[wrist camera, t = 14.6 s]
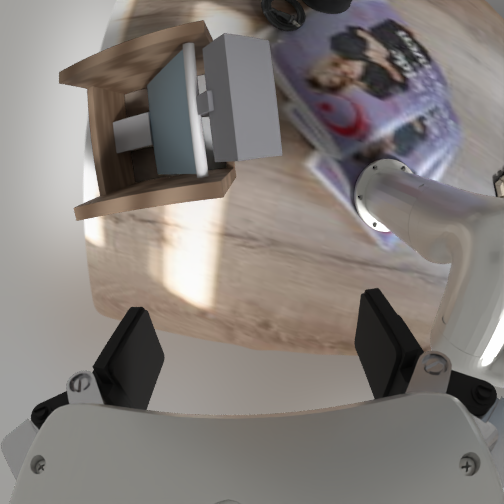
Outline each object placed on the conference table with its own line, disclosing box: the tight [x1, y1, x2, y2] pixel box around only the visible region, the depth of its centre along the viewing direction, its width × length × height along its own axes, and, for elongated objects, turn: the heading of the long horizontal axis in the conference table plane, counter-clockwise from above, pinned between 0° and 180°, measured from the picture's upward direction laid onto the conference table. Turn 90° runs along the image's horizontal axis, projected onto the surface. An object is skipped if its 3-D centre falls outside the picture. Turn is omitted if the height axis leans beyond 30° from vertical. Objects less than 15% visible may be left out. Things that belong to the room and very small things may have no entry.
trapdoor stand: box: [59, 20, 236, 221], centre depth 30 cm, size 18×19×16 cm
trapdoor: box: [147, 33, 282, 178], centre depth 28 cm, size 20×15×6 cm
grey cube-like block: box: [113, 112, 154, 153], centre depth 36 cm, size 5×5×6 cm
